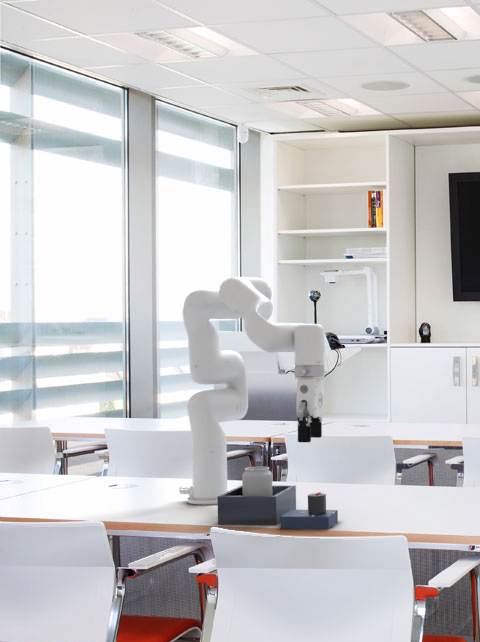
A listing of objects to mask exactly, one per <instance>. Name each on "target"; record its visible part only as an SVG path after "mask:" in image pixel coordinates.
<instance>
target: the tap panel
mask: <svg viewBox="0 0 480 642" xmlns="http://www.w3.org/2000/svg"><path fill="white" fill-rule="evenodd" d="M338 522H339V510H338V509H326V513H325V514H320V515H311V514H308V509H296V510H290V511H288V512H287V513H285V514H284V515H282V516H280V523H279V528H280V530H330V529H331V528H332V527H333V526H335V525H336V524H337V523H338Z"/></svg>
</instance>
